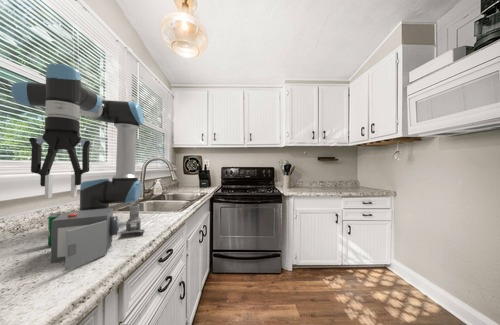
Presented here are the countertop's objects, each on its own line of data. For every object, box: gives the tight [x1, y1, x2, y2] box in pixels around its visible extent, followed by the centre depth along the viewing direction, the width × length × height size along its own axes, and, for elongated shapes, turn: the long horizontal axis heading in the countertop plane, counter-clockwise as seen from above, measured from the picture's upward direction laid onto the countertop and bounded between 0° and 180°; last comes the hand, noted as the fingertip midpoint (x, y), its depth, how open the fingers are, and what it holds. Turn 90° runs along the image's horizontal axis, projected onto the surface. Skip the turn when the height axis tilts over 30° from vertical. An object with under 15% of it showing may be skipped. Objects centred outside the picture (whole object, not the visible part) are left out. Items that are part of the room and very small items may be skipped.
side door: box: [64, 220, 108, 271], centre depth 61 cm, size 2×12×11 cm, turn 163°
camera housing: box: [50, 207, 120, 264], centre depth 71 cm, size 14×16×14 cm
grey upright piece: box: [120, 203, 145, 235], centre depth 90 cm, size 9×12×15 cm
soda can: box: [47, 211, 67, 247], centre depth 76 cm, size 5×5×12 cm
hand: (61, 196), depth 58 cm, fingers open, 5 cm apart
